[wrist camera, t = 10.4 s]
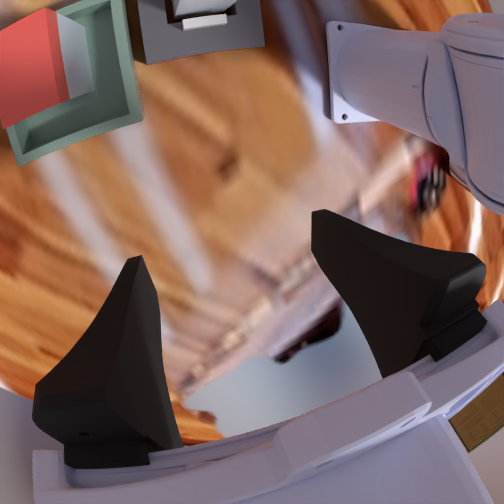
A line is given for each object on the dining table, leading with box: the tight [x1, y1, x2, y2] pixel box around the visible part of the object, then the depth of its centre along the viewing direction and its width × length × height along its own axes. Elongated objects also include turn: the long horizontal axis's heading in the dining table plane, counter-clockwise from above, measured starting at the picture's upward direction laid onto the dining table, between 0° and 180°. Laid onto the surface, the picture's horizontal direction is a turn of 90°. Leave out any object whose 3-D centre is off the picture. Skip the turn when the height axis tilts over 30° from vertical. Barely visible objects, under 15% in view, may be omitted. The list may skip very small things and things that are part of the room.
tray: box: [6, 0, 145, 167], centre depth 12 cm, size 8×8×2 cm
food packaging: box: [448, 372, 504, 453], centre depth 36 cm, size 13×9×25 cm
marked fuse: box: [0, 7, 95, 130], centre depth 10 cm, size 3×4×7 cm, turn 6°
